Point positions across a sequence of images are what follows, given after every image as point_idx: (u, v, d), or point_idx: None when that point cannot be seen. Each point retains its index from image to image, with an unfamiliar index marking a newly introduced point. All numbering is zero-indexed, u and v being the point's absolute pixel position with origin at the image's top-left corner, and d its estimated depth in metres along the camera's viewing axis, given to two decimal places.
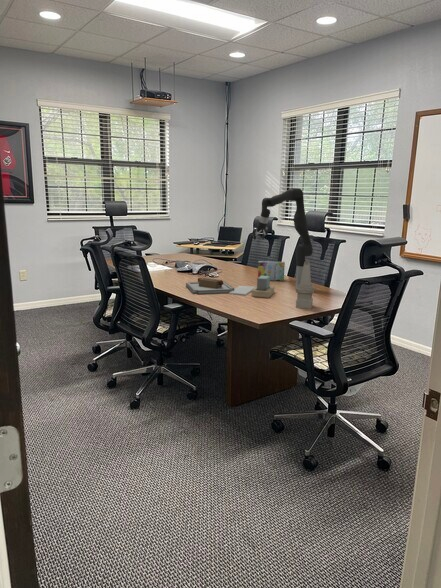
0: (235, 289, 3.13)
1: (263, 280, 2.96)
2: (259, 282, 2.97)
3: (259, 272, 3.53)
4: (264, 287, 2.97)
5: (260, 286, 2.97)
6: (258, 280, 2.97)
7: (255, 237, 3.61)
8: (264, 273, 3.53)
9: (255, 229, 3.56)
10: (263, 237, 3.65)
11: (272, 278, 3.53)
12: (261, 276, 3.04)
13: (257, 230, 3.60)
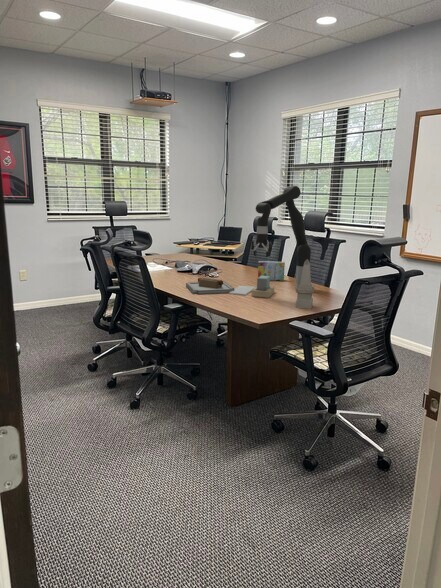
0: (235, 289, 3.13)
1: (263, 280, 2.96)
2: (259, 282, 2.97)
3: (259, 272, 3.53)
4: (264, 287, 2.97)
5: (260, 286, 2.97)
6: (258, 280, 2.97)
7: None
8: (264, 273, 3.53)
9: (271, 243, 2.97)
10: None
11: (272, 278, 3.53)
12: (261, 276, 3.04)
13: (265, 245, 2.97)
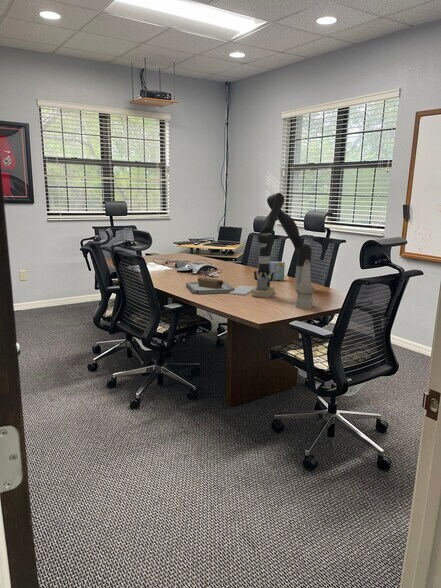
0: (235, 289, 3.13)
1: (263, 280, 2.96)
2: (259, 282, 2.97)
3: None
4: (264, 287, 2.97)
5: (260, 286, 2.97)
6: (258, 280, 2.97)
7: None
8: None
9: (273, 273, 3.00)
10: None
11: None
12: None
13: (267, 275, 3.00)
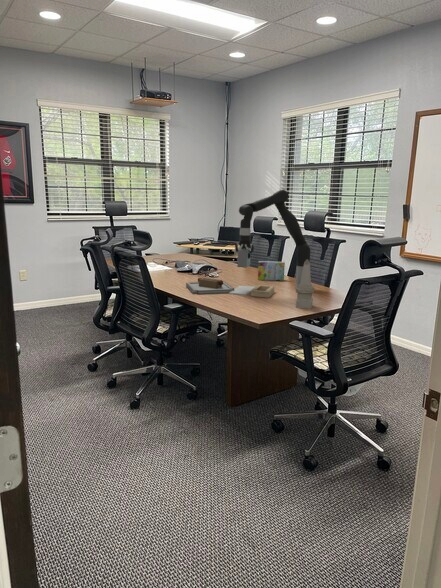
0: (235, 289, 3.13)
1: (243, 251, 3.00)
2: (240, 253, 3.01)
3: (259, 272, 3.53)
4: (244, 258, 3.01)
5: (241, 257, 3.02)
6: (239, 251, 3.01)
7: None
8: (264, 273, 3.53)
9: None
10: None
11: (272, 278, 3.53)
12: None
13: (248, 247, 3.04)
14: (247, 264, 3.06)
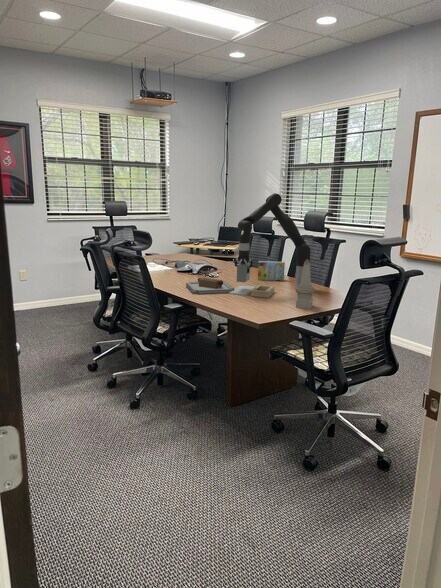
0: (235, 289, 3.13)
1: (242, 266, 3.03)
2: (239, 268, 3.04)
3: (259, 272, 3.53)
4: (243, 273, 3.04)
5: (240, 272, 3.05)
6: (238, 266, 3.04)
7: None
8: (264, 273, 3.53)
9: None
10: None
11: (272, 278, 3.53)
12: None
13: (247, 262, 3.07)
14: (246, 279, 3.09)
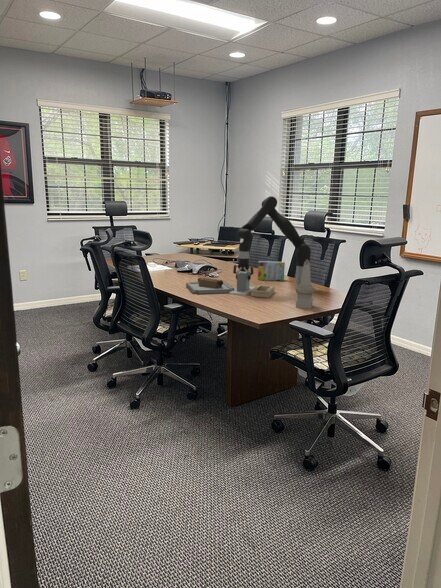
0: (235, 289, 3.13)
1: (242, 276, 3.04)
2: (239, 278, 3.06)
3: (259, 272, 3.53)
4: (243, 282, 3.05)
5: (240, 282, 3.06)
6: (238, 276, 3.06)
7: None
8: (264, 273, 3.53)
9: None
10: None
11: (272, 278, 3.53)
12: (241, 272, 3.13)
13: (247, 269, 3.08)
14: (246, 288, 3.10)
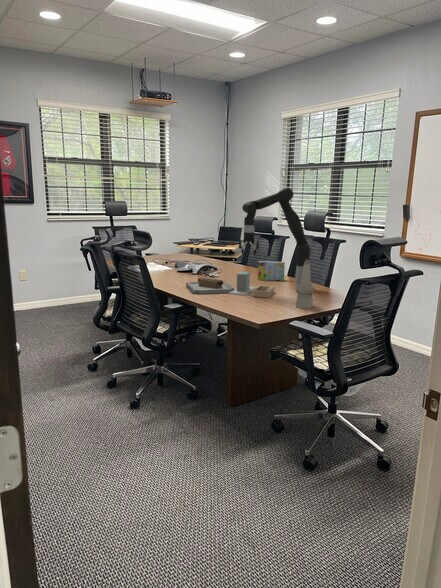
0: (235, 289, 3.13)
1: (242, 276, 3.04)
2: (239, 278, 3.06)
3: (259, 272, 3.53)
4: (243, 282, 3.05)
5: (240, 282, 3.06)
6: (238, 276, 3.06)
7: None
8: (264, 273, 3.53)
9: (258, 241, 3.06)
10: (243, 251, 3.11)
11: (272, 278, 3.53)
12: (241, 272, 3.13)
13: (253, 243, 3.06)
14: (246, 288, 3.10)
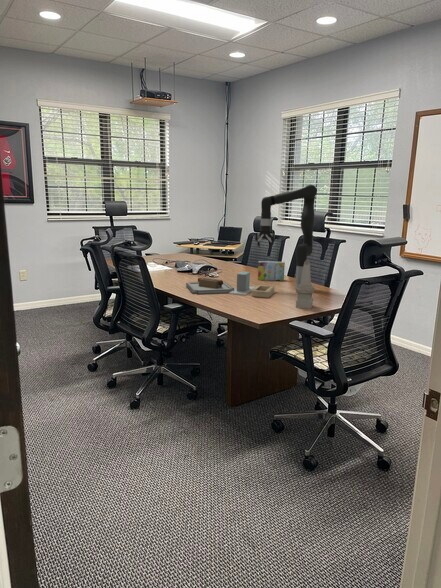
0: (235, 289, 3.13)
1: (242, 276, 3.04)
2: (239, 278, 3.06)
3: (259, 272, 3.53)
4: (243, 282, 3.05)
5: (240, 282, 3.06)
6: (238, 276, 3.06)
7: None
8: (264, 273, 3.53)
9: (274, 234, 3.18)
10: None
11: (272, 278, 3.53)
12: (241, 272, 3.13)
13: (269, 236, 3.18)
14: (246, 288, 3.10)
